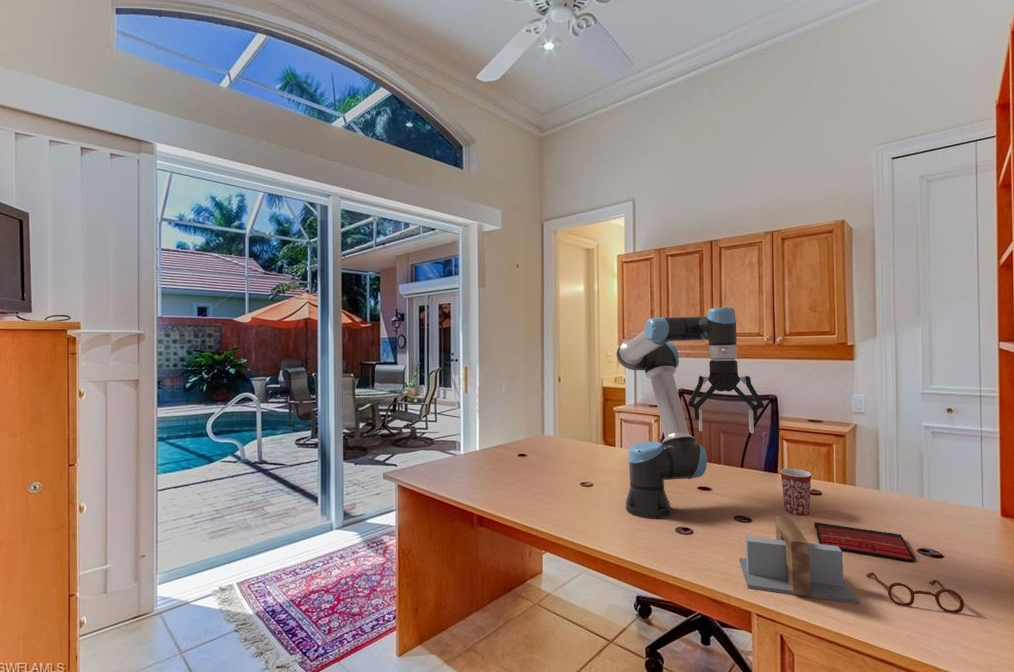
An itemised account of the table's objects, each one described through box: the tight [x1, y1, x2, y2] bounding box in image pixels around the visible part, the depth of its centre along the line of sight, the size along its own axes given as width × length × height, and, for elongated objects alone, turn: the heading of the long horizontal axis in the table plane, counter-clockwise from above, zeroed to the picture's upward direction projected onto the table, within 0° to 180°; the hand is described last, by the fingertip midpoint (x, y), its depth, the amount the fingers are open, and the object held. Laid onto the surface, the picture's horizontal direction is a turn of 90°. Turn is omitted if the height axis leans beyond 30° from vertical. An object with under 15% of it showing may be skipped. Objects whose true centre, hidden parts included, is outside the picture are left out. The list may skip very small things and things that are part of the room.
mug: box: [779, 468, 813, 517], centre depth 154 cm, size 13×9×14 cm
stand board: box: [738, 535, 859, 605], centre depth 110 cm, size 22×14×9 cm, turn 70°
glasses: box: [865, 571, 965, 614], centre depth 103 cm, size 13×13×5 cm
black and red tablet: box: [814, 521, 916, 564], centre depth 128 cm, size 16×2×21 cm
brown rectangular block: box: [775, 514, 811, 595], centre depth 110 cm, size 4×16×12 cm, turn 160°
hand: (725, 431), depth 132 cm, fingers open, 13 cm apart
